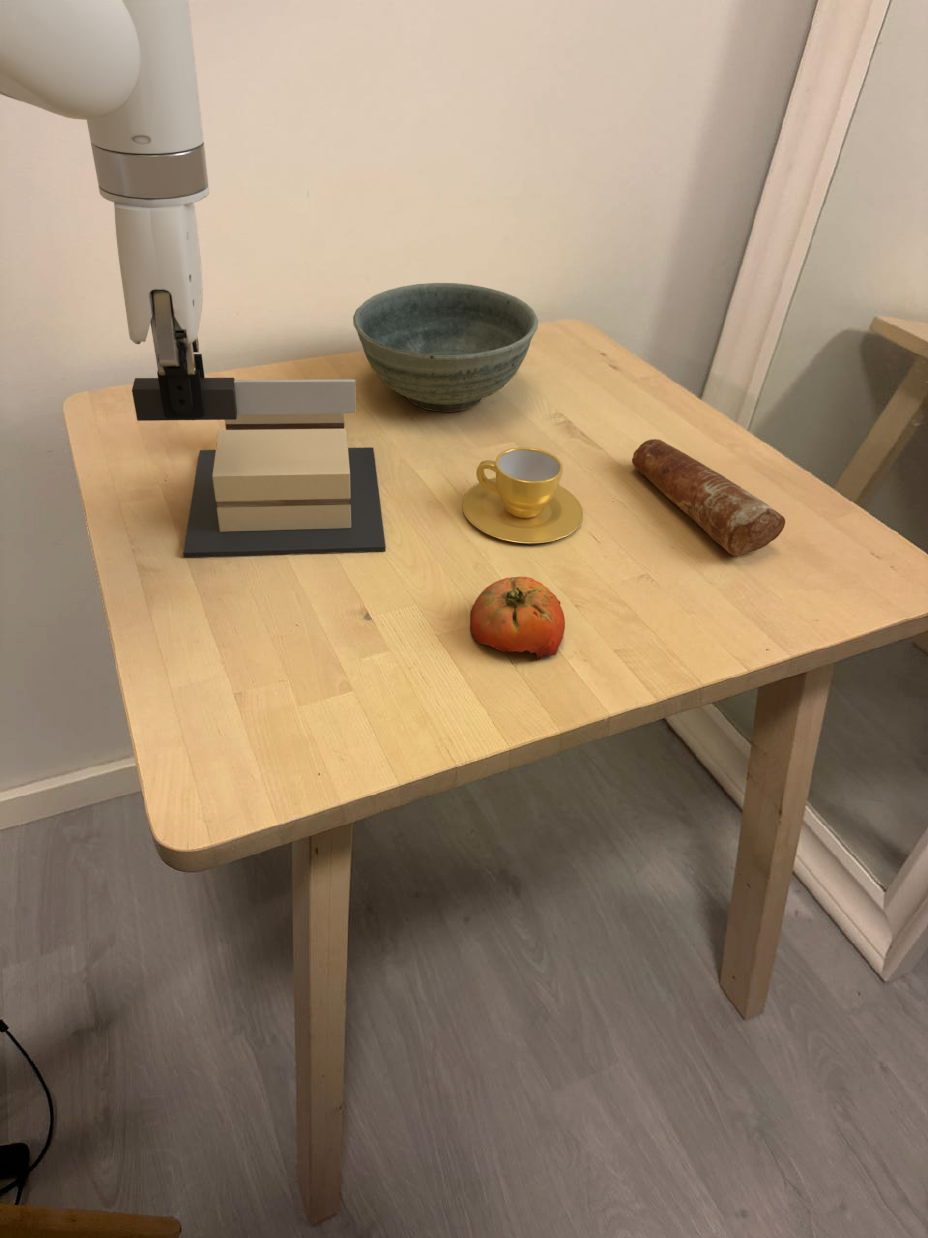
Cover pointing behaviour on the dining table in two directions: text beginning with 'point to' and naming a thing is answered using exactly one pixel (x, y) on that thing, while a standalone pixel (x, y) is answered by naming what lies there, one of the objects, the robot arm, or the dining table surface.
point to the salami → (709, 498)
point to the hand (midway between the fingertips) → (186, 406)
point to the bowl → (445, 341)
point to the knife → (252, 398)
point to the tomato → (518, 617)
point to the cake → (284, 495)
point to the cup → (522, 498)
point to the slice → (286, 422)
